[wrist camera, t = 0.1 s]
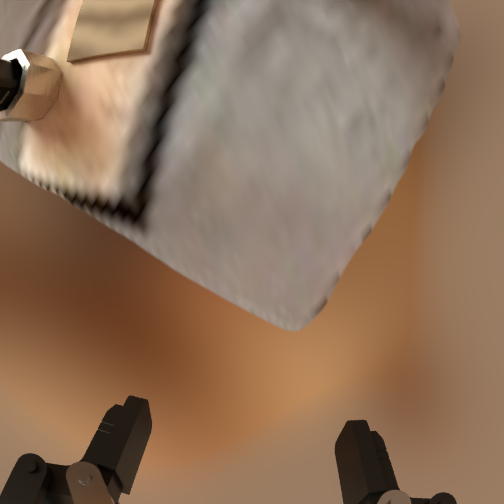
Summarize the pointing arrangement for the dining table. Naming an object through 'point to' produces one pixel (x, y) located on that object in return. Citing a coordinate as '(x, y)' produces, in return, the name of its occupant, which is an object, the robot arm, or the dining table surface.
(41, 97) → the wooden sleeve
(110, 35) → the oak board
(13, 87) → the wine bottle
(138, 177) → the dining table surface
